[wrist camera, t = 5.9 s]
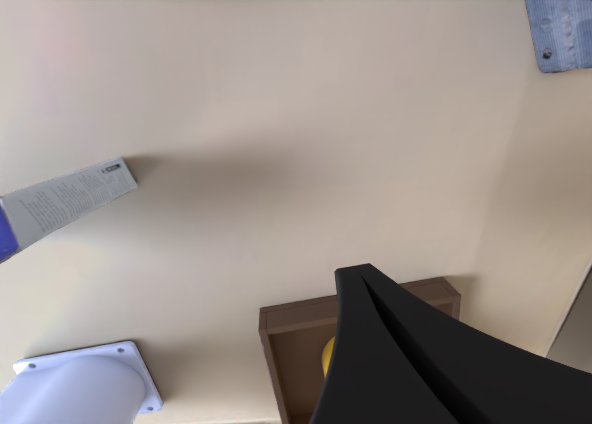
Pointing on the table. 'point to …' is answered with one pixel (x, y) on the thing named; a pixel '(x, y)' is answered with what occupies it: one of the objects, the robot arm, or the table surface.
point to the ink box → (59, 203)
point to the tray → (319, 343)
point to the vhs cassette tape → (561, 33)
